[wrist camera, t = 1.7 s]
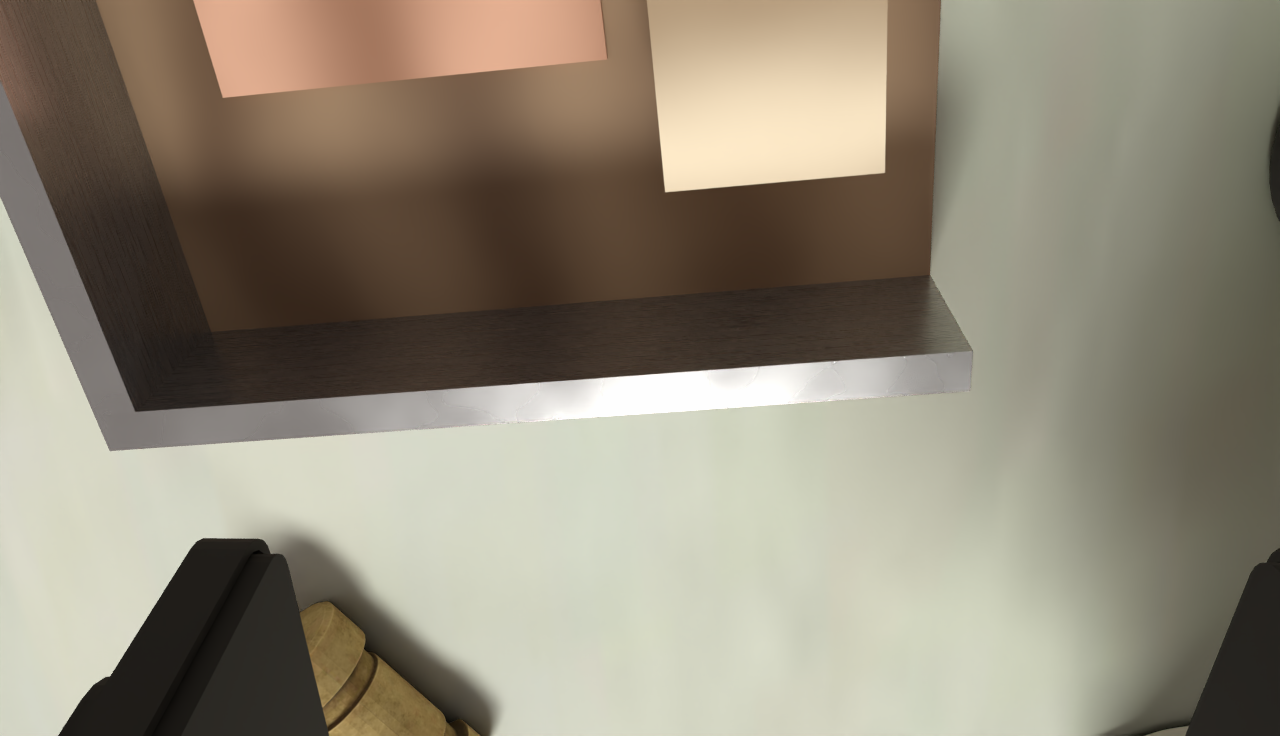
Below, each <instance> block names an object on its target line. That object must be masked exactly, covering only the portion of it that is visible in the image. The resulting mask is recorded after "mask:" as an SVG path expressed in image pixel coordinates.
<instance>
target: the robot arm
mask: <svg viewBox="0 0 1280 736" xmlns="http://www.w3.org/2000/svg"><path fill="white" fill-rule="evenodd" d="M58 736H329V733H328V729H327V724H326V720H325V716H324V712H323V708H322V704H321V700H320V696H319V691H318V687H317V683H316V679H315V675H314V671H313V667H312V663H311V659H310V654H309V650H308V646H307V642H306V638H305V634H304V630H303V626H302V622H301V617H300V613H299V609H298V605H297V601H296V597H295V593H294V589H293V584H292V580H291V576H290V572H289V568H288V564H287V562H286V559H285V558H284V556H283V555H281V554H270V551H269V548H268V546H267V544H266V543H265V542H264V541H263V540H260V539H217V538H203V539H201V540H199V541H197V542H196V543H195V544H194V546H193V547H192V548H191V549H190V551H189V552H188V554H187V555H186V557H185V559H184V560H183V562H182V563H181V565H180V567H179V568H178V570H177V571H176V573H175V575H174V576H173V578H172V579H171V581H170V582H169V584H168V586H167V587H166V589H165V590H164V592H163V594H162V595H161V597H160V598H159V600H158V601H157V603H156V605H155V606H154V608H153V609H152V611H151V613H150V614H149V616H148V617H147V619H146V621H145V622H144V624H143V625H142V627H141V628H140V630H139V632H138V633H137V635H136V636H135V638H134V640H133V641H132V643H131V644H130V646H129V647H128V649H127V651H126V652H125V654H124V655H123V657H122V659H121V660H120V662H119V663H118V665H117V667H116V668H115V670H114V671H113V673H112V674H111V676H110V677H105V678H104V679H102V680H100V681H99V682H97V683H96V684H94V685H93V686H92V687H91V689H90V690H89V691H88V692H87V694H86V695H85V696H84V697H83V698H82V700H81V701H80V703H79V704H78V706H77V707H76V709H75V710H74V712H73V714H72V715H71V717H70V718H69V720H68V721H67V723H66V724H65V726H64V727H63V729H62V731H61V732H60V734H59V735H58ZM1144 736H1280V548H1279V549H1278V550H1276V551H1275V552H1273V553H1272V554H1271V556H1270V557H1269V559H1268V561H1267V562H1266V563H1260V564H1258V565H1257V566H1255V567H1254V569H1253V571H1252V572H1251V574H1250V576H1249V579H1248V581H1247V584H1246V586H1245V589H1244V591H1243V594H1242V596H1241V599H1240V601H1239V604H1238V606H1237V609H1236V611H1235V613H1234V616H1233V618H1232V621H1231V623H1230V626H1229V628H1228V631H1227V633H1226V636H1225V638H1224V641H1223V643H1222V646H1221V648H1220V651H1219V653H1218V655H1217V658H1216V660H1215V663H1214V665H1213V668H1212V670H1211V673H1210V675H1209V678H1208V680H1207V683H1206V685H1205V688H1204V690H1203V693H1202V695H1201V697H1200V700H1199V702H1198V705H1197V707H1196V710H1195V712H1194V715H1193V717H1192V720H1191V722H1190V725H1189V726H1183V727H1177V728H1171V729H1165V730H1161V731H1158V732H1155V733H1151V734H1148V735H1144Z"/></svg>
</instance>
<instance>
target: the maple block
mask: <svg viewBox="0 0 1280 736" xmlns="http://www.w3.org/2000/svg"><path fill="white" fill-rule="evenodd" d="M647 7H648V18H649V28H650V39H651V49H652V60H653V70H654V81H655V91H656V102H657V112H658V123H659V133H660V144H661V154H662V165H663V175H664V186H665V192H674V191H685V190H697V189H708V188H719V187H731V186H742V185H753V184H765V183H776V182H787V181H799V180H810V179H821V178H833V177H844V176H856V175H867V174H878V173H885V140H886V75H887V10H888V0H647Z"/></svg>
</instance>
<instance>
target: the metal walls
mask: <svg viewBox="0 0 1280 736" xmlns="http://www.w3.org/2000/svg"><path fill="white" fill-rule="evenodd" d="M0 197H1V199H2V202H3V204H4V206H5V209H6V211H7V213H8V216H9V218H10V220H11V223H12V225H13V227H14V229H15V232H16V234H17V236H18V239H19V241H20V243H21V246H22V248H23V250H24V253H25V255H26V257H27V260H28V262H29V264H30V267H31V269H32V271H33V274H34V276H35V278H36V281H37V283H38V285H39V288H40V290H41V292H42V295H43V297H44V299H45V302H46V304H47V306H48V308H49V311H50V313H51V315H52V318H53V320H54V322H55V325H56V327H57V329H58V332H59V334H60V336H61V339H62V341H63V343H64V346H65V348H66V350H67V353H68V355H69V357H70V360H71V362H72V364H73V367H74V369H75V371H76V374H77V376H78V378H79V381H80V383H81V385H82V388H83V390H84V392H85V394H86V397H87V399H88V401H89V404H90V406H91V408H92V411H93V413H94V415H95V418H96V420H97V422H98V425H99V427H100V429H101V432H102V434H103V436H104V439H105V441H106V443H107V446H108V448H109V450H110V451H116V450H130V449H145V448H159V447H173V446H188V445H202V444H216V443H231V442H245V441H260V440H274V439H288V438H303V437H317V436H332V435H346V434H360V433H375V432H389V431H404V430H418V429H432V428H447V427H461V426H475V425H490V424H504V423H519V422H533V421H547V420H562V419H576V418H591V417H605V416H619V415H634V414H648V413H663V412H677V411H691V410H706V409H720V408H734V407H749V406H763V405H778V404H792V403H806V402H821V401H835V400H850V399H864V398H878V397H893V396H907V395H922V394H936V393H950V392H965V391H970V388H971V372H972V357H973V350H972V349H971V347H970V345H969V343H968V342H967V340H966V338H965V336H964V334H963V333H962V331H961V329H960V327H959V326H958V324H957V322H956V320H955V318H954V317H953V315H952V313H951V311H950V310H949V308H948V306H947V304H946V303H945V301H944V299H943V297H942V295H941V294H940V292H939V290H938V288H937V287H936V285H935V283H934V281H933V279H932V278H931V276H930V275H923V276H910V277H898V278H885V279H872V280H860V281H847V282H835V283H822V284H809V285H797V286H784V287H772V288H759V289H746V290H734V291H721V292H709V293H696V294H683V295H671V296H658V297H646V298H633V299H620V300H608V301H595V302H583V303H570V304H557V305H545V306H532V307H520V308H507V309H494V310H482V311H469V312H457V313H444V314H431V315H419V316H406V317H394V318H381V319H368V320H356V321H343V322H331V323H318V324H305V325H293V326H280V327H268V328H255V329H242V330H230V331H217V332H211V330H210V327H209V324H208V321H207V318H206V316H205V313H204V310H203V307H202V304H201V301H200V298H199V295H198V293H197V290H196V287H195V284H194V281H193V278H192V275H191V272H190V270H189V267H188V264H187V261H186V258H185V255H184V252H183V249H182V247H181V244H180V241H179V238H178V235H177V232H176V229H175V226H174V224H173V221H172V218H171V215H170V212H169V209H168V206H167V203H166V201H165V198H164V195H163V192H162V189H161V186H160V183H159V180H158V178H157V175H156V172H155V169H154V166H153V163H152V160H151V157H150V155H149V152H148V149H147V146H146V143H145V140H144V137H143V134H142V132H141V129H140V126H139V123H138V120H137V117H136V114H135V111H134V109H133V106H132V103H131V100H130V97H129V94H128V91H127V88H126V86H125V83H124V80H123V77H122V74H121V71H120V68H119V65H118V63H117V60H116V57H115V54H114V51H113V48H112V45H111V42H110V40H109V37H108V34H107V31H106V28H105V25H104V22H103V19H102V17H101V14H100V11H99V8H98V5H97V2H96V0H0Z"/></svg>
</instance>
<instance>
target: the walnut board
mask: <svg viewBox="0 0 1280 736" xmlns="http://www.w3.org/2000/svg"><path fill="white" fill-rule="evenodd" d="M96 2H97V5H98V8H99V11H100V14H101V17H102V19H103V22H104V25H105V28H106V31H107V34H108V37H109V40H110V42H111V45H112V48H113V51H114V54H115V57H116V60H117V63H118V65H119V68H120V71H121V74H122V77H123V80H124V83H125V86H126V88H127V91H128V94H129V97H130V100H131V103H132V106H133V109H134V111H135V114H136V117H137V120H138V123H139V126H140V129H141V132H142V134H143V137H144V140H145V143H146V146H147V149H148V152H149V155H150V157H151V160H152V163H153V166H154V169H155V172H156V175H157V178H158V180H159V183H160V186H161V189H162V192H163V195H164V198H165V201H166V203H167V206H168V209H169V212H170V215H171V218H172V221H173V224H174V226H175V229H176V232H177V235H178V238H179V241H180V244H181V247H182V249H183V252H184V255H185V258H186V261H187V264H188V267H189V270H190V272H191V275H192V278H193V281H194V284H195V287H196V290H197V293H198V295H199V298H200V301H201V304H202V307H203V310H204V313H205V316H206V318H207V321H208V324H209V327H210V330H211V332H217V331H230V330H242V329H255V328H268V327H280V326H293V325H305V324H318V323H331V322H343V321H356V320H368V319H381V318H394V317H406V316H419V315H431V314H444V313H457V312H469V311H482V310H494V309H507V308H520V307H532V306H545V305H557V304H570V303H583V302H595V301H608V300H620V299H633V298H646V297H658V296H671V295H683V294H696V293H709V292H721V291H734V290H746V289H759V288H772V287H784V286H797V285H809V284H822V283H835V282H847V281H860V280H872V279H885V278H898V277H910V276H923V275H930V260H931V235H932V210H933V185H934V160H935V134H936V109H937V84H938V59H939V34H940V9H941V0H888V10H887V75H886V140H885V173H878V174H867V175H856V176H844V177H833V178H821V179H810V180H799V181H787V182H776V183H765V184H753V185H742V186H731V187H719V188H708V189H697V190H685V191H674V192H665V186H664V175H663V165H662V154H661V144H660V133H659V123H658V112H657V102H656V91H655V81H654V70H653V60H652V49H651V39H650V28H649V18H648V7H647V0H96Z"/></svg>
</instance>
